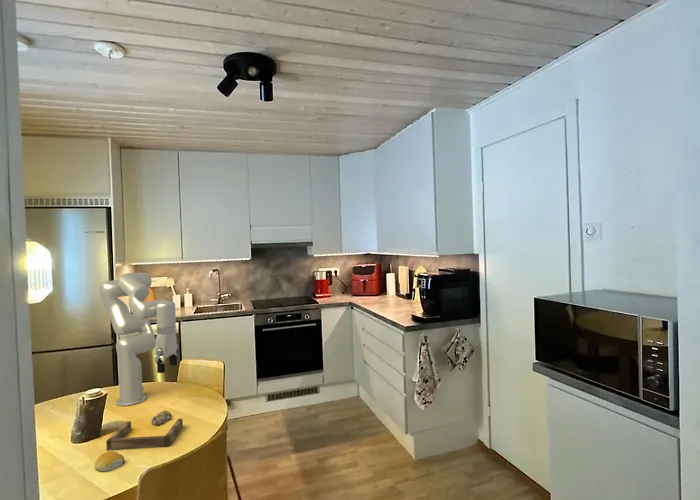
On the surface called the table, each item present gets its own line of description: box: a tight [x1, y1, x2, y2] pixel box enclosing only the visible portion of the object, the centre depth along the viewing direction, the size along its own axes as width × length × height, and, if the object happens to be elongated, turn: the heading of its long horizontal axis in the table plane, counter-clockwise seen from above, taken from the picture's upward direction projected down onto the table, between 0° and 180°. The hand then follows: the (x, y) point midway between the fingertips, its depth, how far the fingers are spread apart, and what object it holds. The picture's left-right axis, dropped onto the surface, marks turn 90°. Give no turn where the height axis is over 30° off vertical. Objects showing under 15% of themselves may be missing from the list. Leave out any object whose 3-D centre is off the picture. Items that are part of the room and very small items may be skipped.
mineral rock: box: [151, 410, 172, 427], centre depth 171 cm, size 11×4×8 cm
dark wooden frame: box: [105, 417, 184, 451], centre depth 156 cm, size 16×22×4 cm
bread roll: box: [94, 450, 125, 472], centre depth 137 cm, size 8×9×4 cm
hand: (167, 368), depth 175 cm, fingers open, 9 cm apart
